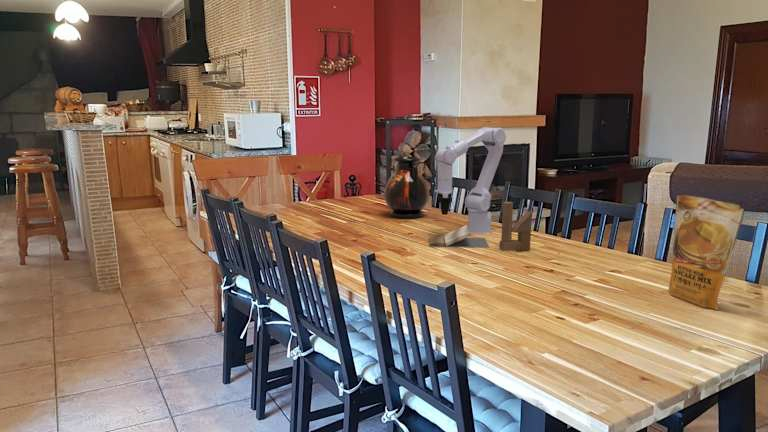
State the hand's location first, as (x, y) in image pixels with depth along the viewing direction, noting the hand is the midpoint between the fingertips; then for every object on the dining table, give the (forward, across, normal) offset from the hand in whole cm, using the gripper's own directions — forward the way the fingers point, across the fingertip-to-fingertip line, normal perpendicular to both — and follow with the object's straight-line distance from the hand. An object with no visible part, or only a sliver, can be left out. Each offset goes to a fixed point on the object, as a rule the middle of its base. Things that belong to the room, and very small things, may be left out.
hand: (444, 213), depth 231 cm
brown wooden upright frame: (+10, +20, +25) cm, 34 cm away
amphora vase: (+10, -45, -16) cm, 49 cm away
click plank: (+7, +11, +5) cm, 14 cm away
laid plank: (+10, +11, -3) cm, 15 cm away
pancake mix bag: (+10, +73, +65) cm, 98 cm away
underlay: (+10, +11, +5) cm, 16 cm away
